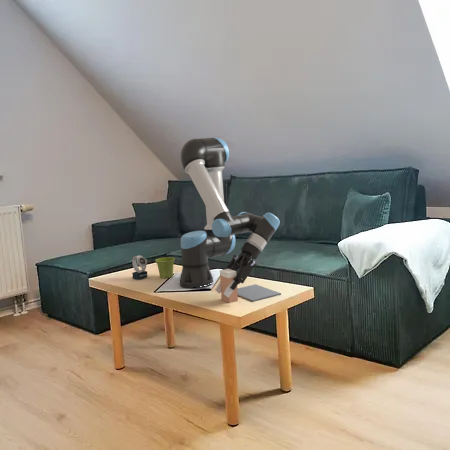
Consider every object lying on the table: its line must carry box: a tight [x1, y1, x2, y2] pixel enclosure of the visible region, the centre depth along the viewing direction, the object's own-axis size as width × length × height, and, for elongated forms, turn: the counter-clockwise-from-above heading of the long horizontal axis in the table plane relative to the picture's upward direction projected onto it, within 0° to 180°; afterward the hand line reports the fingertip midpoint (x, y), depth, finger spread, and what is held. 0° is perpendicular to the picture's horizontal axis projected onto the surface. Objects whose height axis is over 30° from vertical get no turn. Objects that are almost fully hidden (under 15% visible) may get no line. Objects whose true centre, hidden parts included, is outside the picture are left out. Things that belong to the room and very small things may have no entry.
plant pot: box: [154, 256, 176, 279], centre depth 242 cm, size 9×9×9 cm
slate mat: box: [237, 283, 282, 303], centre depth 207 cm, size 18×14×1 cm
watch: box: [131, 254, 148, 281], centre depth 242 cm, size 6×8×11 cm
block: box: [219, 268, 239, 304], centre depth 199 cm, size 6×4×12 cm, turn 31°
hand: (221, 293), depth 198 cm, fingers closed on block, 6 cm apart
